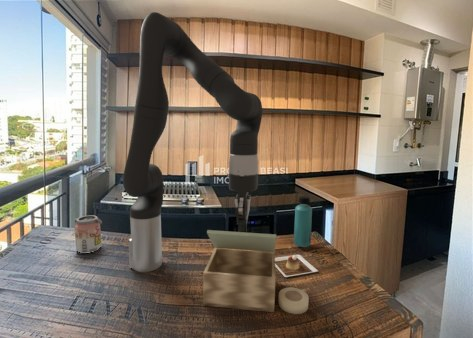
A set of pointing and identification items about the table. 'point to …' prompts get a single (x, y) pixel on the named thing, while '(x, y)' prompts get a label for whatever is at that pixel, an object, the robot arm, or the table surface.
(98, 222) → the beverage can
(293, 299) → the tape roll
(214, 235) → the lid
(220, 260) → the crate
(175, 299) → the table surface
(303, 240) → the beverage bottle
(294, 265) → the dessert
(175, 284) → the table surface
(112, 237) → the table surface
